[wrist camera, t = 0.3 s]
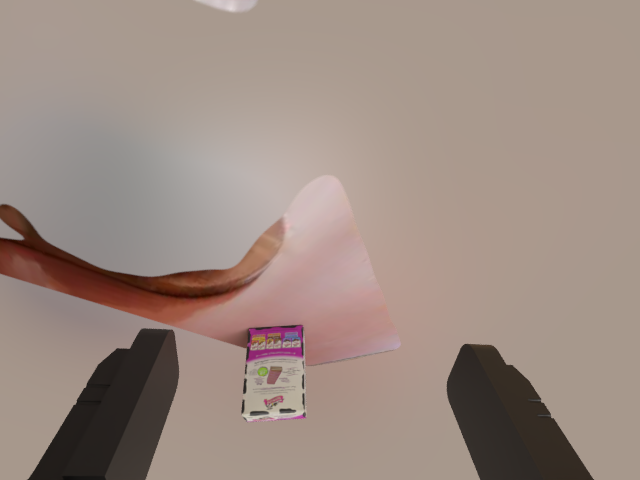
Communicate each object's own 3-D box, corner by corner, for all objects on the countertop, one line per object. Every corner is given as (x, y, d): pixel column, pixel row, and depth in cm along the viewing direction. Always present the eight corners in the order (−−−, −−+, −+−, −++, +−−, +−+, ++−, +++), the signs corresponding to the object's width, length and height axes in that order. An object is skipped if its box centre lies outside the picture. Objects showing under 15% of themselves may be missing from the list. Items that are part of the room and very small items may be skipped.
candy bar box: (253, 338, 76) (245, 423, 65) (248, 327, 72) (239, 415, 61) (306, 335, 76) (307, 420, 65) (303, 324, 72) (304, 411, 61)
